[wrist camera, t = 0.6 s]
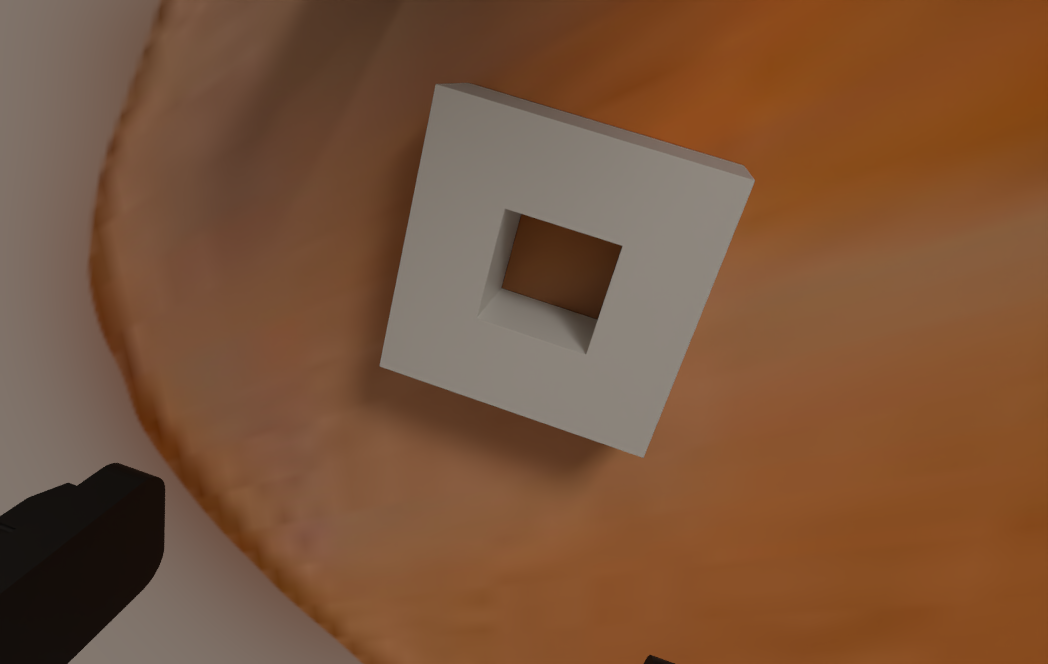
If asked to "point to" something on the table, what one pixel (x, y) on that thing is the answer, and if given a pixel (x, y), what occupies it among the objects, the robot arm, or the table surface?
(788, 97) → the table surface
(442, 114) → the block
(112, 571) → the robot arm
